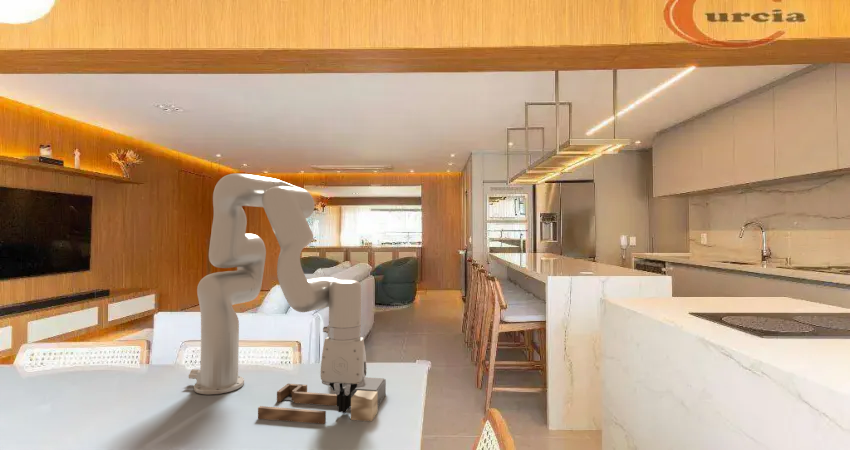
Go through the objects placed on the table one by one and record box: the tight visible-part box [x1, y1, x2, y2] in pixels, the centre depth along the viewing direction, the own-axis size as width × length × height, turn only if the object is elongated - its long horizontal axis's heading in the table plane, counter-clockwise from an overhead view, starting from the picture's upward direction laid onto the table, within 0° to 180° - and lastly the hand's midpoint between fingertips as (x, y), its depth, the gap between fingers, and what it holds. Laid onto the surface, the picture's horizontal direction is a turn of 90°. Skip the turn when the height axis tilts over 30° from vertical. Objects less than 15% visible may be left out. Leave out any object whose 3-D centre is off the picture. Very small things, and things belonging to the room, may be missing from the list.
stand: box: [343, 376, 387, 408], centre depth 113 cm, size 9×9×4 cm
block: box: [350, 390, 378, 422], centre depth 103 cm, size 5×5×5 cm
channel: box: [257, 383, 337, 425], centre depth 107 cm, size 18×16×2 cm
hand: (343, 409), depth 103 cm, fingers closed
